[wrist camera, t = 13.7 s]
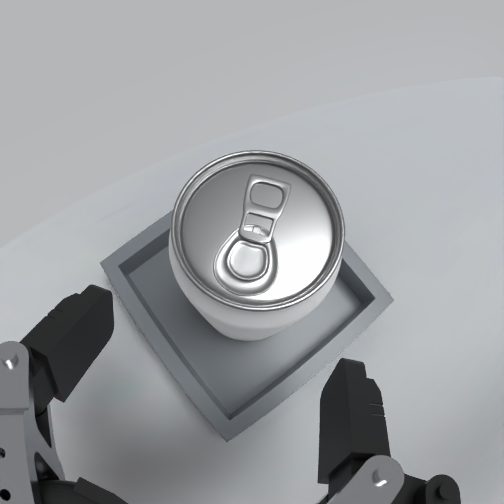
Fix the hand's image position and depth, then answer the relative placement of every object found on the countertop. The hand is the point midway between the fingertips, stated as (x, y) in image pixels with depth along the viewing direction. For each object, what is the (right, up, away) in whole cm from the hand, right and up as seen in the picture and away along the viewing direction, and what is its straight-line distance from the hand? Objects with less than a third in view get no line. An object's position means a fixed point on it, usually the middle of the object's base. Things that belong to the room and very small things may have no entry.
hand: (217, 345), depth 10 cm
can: (+1, 0, +11) cm, 11 cm away
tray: (+1, 0, +12) cm, 12 cm away
